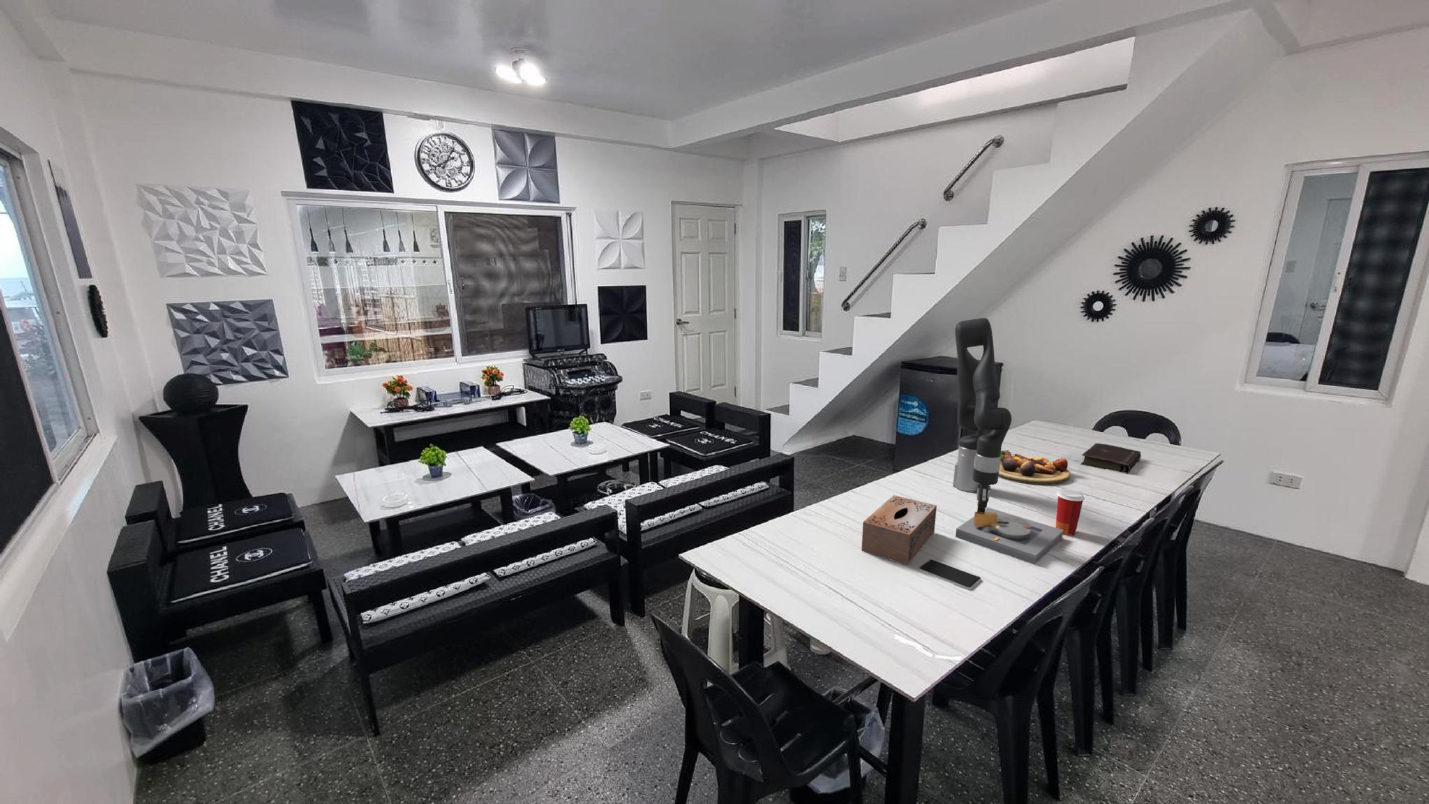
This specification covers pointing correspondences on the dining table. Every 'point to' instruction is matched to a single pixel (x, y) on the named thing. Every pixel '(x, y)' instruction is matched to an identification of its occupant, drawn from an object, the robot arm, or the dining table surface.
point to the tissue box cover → (899, 529)
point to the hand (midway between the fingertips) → (980, 516)
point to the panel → (1024, 550)
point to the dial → (1003, 525)
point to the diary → (1111, 457)
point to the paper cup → (1068, 510)
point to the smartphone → (950, 574)
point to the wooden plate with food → (1032, 469)
